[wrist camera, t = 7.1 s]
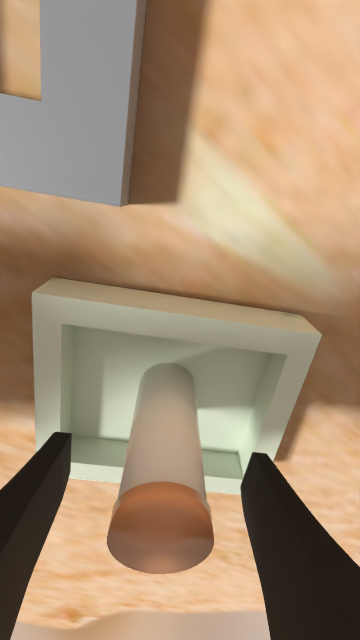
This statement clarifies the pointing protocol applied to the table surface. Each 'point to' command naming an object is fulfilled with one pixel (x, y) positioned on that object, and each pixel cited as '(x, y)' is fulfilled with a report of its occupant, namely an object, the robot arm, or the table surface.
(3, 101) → the grey square frame
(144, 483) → the cylinder
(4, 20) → the table surface
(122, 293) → the parts tray
